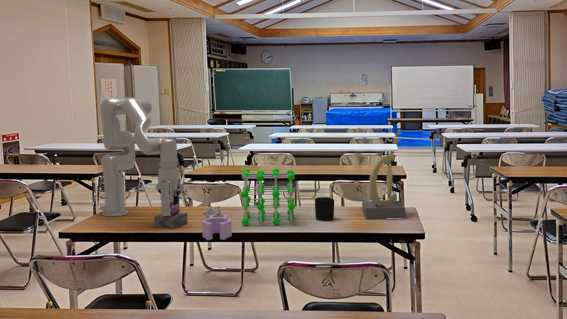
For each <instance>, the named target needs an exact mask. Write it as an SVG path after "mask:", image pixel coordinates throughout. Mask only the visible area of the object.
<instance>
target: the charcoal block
mask: <svg viewBox="0 0 567 319" xmlns="http://www.w3.org/2000/svg"><path fill="white" fill-rule="evenodd" d="M187 224H188V212H178V213H176V214H175V215H173V216H162V213H160V214H157V215H154V227H155V228H161V229H162V228H164V229H165V228H166V229H174V230H175V229H178V228H180V227H182V226H185V225H187Z"/></svg>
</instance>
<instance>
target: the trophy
mask: <svg viewBox="0 0 567 319" xmlns="http://www.w3.org/2000/svg"><path fill="white" fill-rule="evenodd" d="M396 157H397V154H393V153H392V154H387V155H383V156H382V157H380V158H379V159H378V160H377V161H376V162H375V163H374V165H373V167H372V169H371V172H370V175H369V184H368V186H369V194H370V199H371V200H362V201H361V202H362V203H361V204H362V205H361V206H362V208H361V210H362V213H363V217H364V218H365V220H388V219H387V218H405V219H406V206H404V205H403V204H402V202H401V201H400V200H397V199H398V196H397V193H393V191H392V190H393V168H392V165H391V162H392V161H393V162H395V160H396ZM387 162H388V165H387V169H386V189H387V194H388V198H387V199H385V200H384V199H383V200H382V199H381V198H380V197H379V194H378V188H377V187H378V186H377V180H378V174H379V171H380V169H381V168H382V166H383V165H384V164H386V163H387ZM392 193H393V195H392ZM381 218H382V219H381Z"/></svg>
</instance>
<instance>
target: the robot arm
mask: <svg viewBox="0 0 567 319" xmlns="http://www.w3.org/2000/svg"><path fill="white" fill-rule="evenodd" d="M152 108H153V107H152V103H151V101H150V100H149V99H148V98H146V97H134V96H133V97H132V96H131V97H109V98H106V99H103V101H102V102H101V104H100V107H99V110H100V112H99V113H100V118H101V121H102V136H103V139H102V140H103V145H104V148H105V149H106V150H108V151H118V150H119V151H118V152H109V153H106V154H104V155H103V156H102V157H101V159H100V165H101V169H102V173H103V181H104V182H103V184H104V202H105V204H104V205H101V206H100V207H99V210H101V211H103V212H102V216H103V217H123V216H126V215H128V214H129V210H127V209H125V208H126V207H125V205H126V204H125V203H126V201H125V184H124V178H123V176H122V174H121V172H120V171H128V170H129V171H130V170H131V169H133V168H134V167H135V164H136V146H137V148H138V149H139V150H140V152H141V153H142V154H144V155H148V156H149V155H158V154H160V161H159V162H158V166H160V167H159V168H158V174H157V184H156V185H155V188H154V189H155V190H156V191H157V192H158V193H159V194H160V196H161V187H160V182H161V181H172V191H173V192H174V195H175V196H174V205H176V204H178V202H179V203H180V195H181V194H182V193H183V192H184V190H186V189H185V187H184V186H183V184H182V183H181V182H182V180H181V172H180V169H179V168H178V148H177V147H178V144H177V140H176V139H175V138H166V137H150V138H148V137H147V136H146V135H145V133H144V131H145V130H146V129H148V128H149V126H151V123H152V120H151V117H150V116H149V114H150V113H151V112H152ZM121 115H122V116H123V115H126V117H127V118H128V120H129V121H130V123H131V124H132V126H133V128H134V130H133V133H132V132H131V131H129V130H122V129H121V121H120V120H119V117H117V116H121ZM120 150H121V151H120ZM178 189H179V190H178Z"/></svg>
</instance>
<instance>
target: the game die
mask: <svg viewBox="0 0 567 319" xmlns="http://www.w3.org/2000/svg"><path fill="white" fill-rule="evenodd" d="M202 215H204V216H205V219H208V218H209V216H211V215H216V217H222V215H223V214H222V212H221V210H220V206H218V207H213V206H210V205H209V208H207V210H206V211H205V212H203V214H202Z"/></svg>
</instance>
